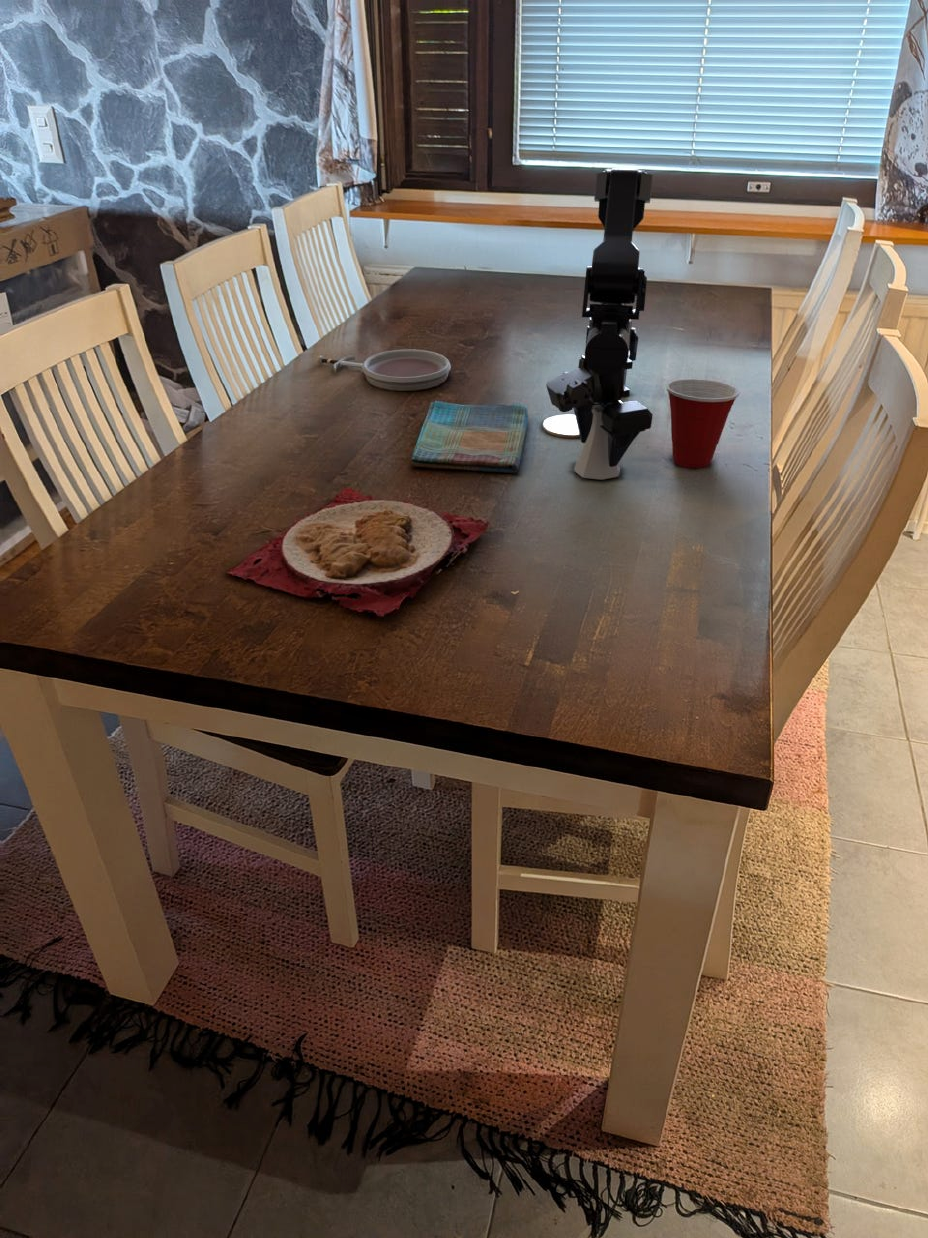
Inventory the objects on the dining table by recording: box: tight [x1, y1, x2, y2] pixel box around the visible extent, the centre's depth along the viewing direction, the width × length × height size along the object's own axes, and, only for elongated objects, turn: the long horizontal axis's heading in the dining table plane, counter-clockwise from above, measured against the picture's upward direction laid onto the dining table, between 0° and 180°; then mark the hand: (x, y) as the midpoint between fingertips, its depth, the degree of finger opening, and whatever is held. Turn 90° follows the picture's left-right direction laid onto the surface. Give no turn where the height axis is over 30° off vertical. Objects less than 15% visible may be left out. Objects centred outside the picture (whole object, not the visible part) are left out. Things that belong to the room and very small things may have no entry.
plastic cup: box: [665, 378, 741, 469], centre depth 139 cm, size 11×11×12 cm
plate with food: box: [226, 488, 490, 618], centre depth 117 cm, size 24×26×4 cm
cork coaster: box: [542, 414, 580, 439], centre depth 153 cm, size 9×9×1 cm
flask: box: [573, 405, 621, 481], centre depth 136 cm, size 7×7×10 cm
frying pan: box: [315, 348, 452, 392], centre depth 175 cm, size 17×3×28 cm
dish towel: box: [410, 400, 529, 474], centre depth 147 cm, size 17×23×2 cm
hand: (598, 454), depth 137 cm, fingers open, 9 cm apart
